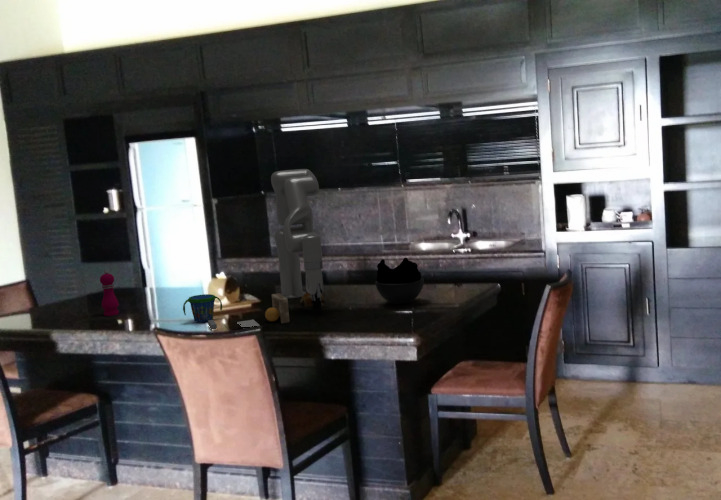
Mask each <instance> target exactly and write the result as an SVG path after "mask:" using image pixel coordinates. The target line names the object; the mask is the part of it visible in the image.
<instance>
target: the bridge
mask: <svg viewBox="0 0 721 500" xmlns="http://www.w3.org/2000/svg"><path fill="white" fill-rule="evenodd" d="M271 301H272V305H271V306H272V308H276V309H277V310H278V311H279V318H280V323H281V324H288V323H290V313H289V312H290V311H289V300H288V299H287V298H285V297H284V296H282V295H281V294H280V293H279V292H278V293H272V294H271Z"/></svg>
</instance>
